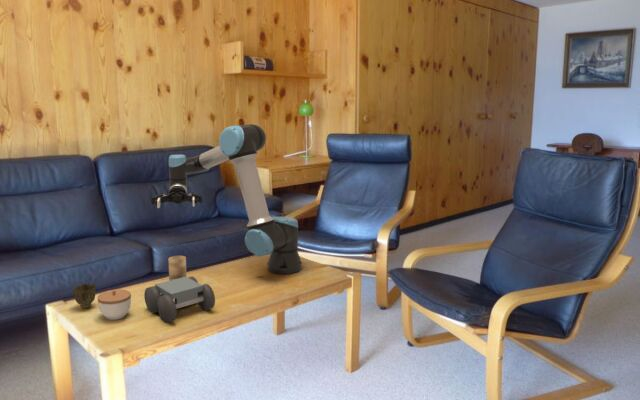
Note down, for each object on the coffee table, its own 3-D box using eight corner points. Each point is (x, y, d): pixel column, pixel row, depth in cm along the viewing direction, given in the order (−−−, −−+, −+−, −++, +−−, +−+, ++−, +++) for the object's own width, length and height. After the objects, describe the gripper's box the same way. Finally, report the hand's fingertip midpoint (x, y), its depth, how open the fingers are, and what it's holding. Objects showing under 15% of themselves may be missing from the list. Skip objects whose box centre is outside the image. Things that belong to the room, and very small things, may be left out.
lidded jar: (95, 314, 183) (93, 289, 181) (126, 307, 189) (124, 282, 187) (104, 325, 174) (102, 299, 172) (136, 317, 181) (134, 292, 179)
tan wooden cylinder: (181, 288, 207) (180, 254, 204) (190, 293, 203) (189, 258, 200) (166, 292, 203) (165, 257, 200) (175, 297, 198) (173, 261, 196)
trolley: (188, 296, 200) (187, 272, 198) (215, 311, 186) (214, 286, 184) (145, 308, 188) (143, 283, 186) (170, 326, 175) (169, 299, 173)
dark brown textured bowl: (101, 305, 191) (100, 284, 189) (87, 313, 184) (85, 291, 182) (84, 302, 193) (83, 281, 191) (69, 310, 186) (67, 288, 184)
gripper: (207, 201, 233) (208, 212, 213) (148, 203, 228) (143, 214, 208) (206, 184, 232) (207, 193, 212) (147, 185, 226) (142, 195, 206)
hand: (176, 204), depth 210 cm, fingers open, 13 cm apart
